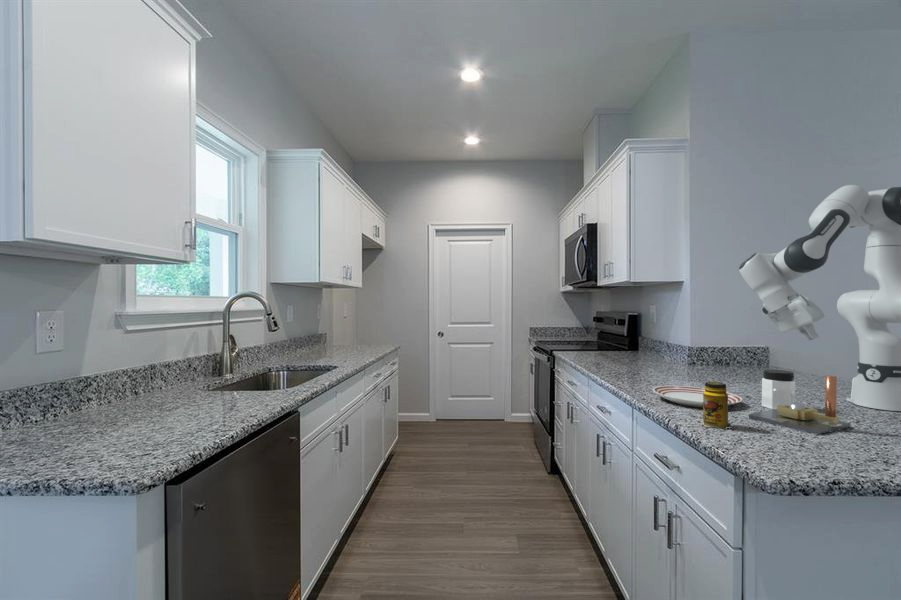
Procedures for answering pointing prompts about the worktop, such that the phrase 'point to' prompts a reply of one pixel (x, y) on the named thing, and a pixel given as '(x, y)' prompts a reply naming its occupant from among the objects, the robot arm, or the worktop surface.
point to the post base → (799, 421)
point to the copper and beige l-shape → (813, 413)
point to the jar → (777, 388)
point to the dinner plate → (689, 395)
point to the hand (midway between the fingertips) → (814, 338)
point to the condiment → (715, 405)
